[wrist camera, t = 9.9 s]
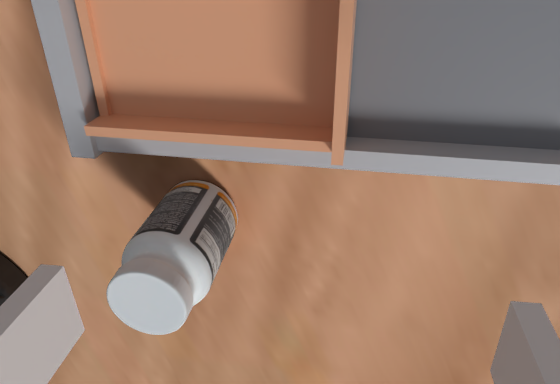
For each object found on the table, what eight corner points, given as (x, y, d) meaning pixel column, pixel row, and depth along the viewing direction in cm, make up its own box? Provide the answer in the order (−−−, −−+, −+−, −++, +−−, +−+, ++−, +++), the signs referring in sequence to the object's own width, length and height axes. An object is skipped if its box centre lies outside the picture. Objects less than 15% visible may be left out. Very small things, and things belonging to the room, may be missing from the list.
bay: (100, 135, 31) (71, 156, 28) (42, -125, 24) (-5, -134, 21) (564, 167, 27) (588, 196, 24) (672, -146, 19) (726, -161, 16)
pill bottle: (160, 225, 35) (90, 320, 26) (175, 164, 32) (102, 248, 23) (229, 252, 35) (182, 355, 26) (250, 194, 32) (205, 289, 23)
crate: (111, 118, 29) (71, 145, 25) (69, -85, 24) (10, -89, 20) (347, 132, 27) (342, 165, 23) (363, -90, 21) (360, -96, 17)
